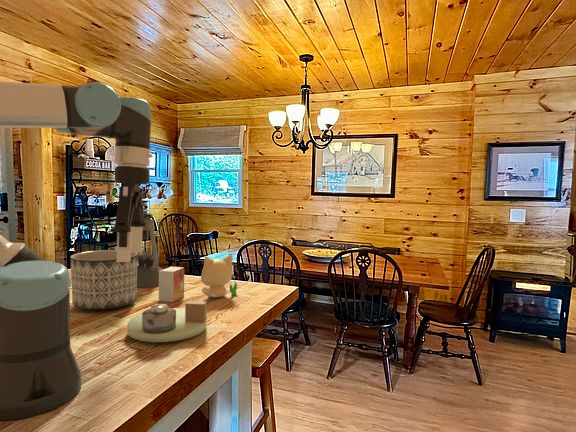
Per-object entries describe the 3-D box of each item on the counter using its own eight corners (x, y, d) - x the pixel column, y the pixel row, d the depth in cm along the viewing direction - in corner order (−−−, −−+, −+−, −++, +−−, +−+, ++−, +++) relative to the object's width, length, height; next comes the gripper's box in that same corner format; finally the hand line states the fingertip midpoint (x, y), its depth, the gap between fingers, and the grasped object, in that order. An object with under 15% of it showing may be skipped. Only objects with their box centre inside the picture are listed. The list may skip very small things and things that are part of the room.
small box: (173, 302, 124) (173, 271, 123) (158, 301, 125) (158, 270, 124) (184, 296, 132) (184, 267, 131) (170, 295, 133) (170, 266, 132)
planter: (77, 299, 125) (76, 250, 124) (138, 295, 132) (138, 249, 131) (65, 317, 107) (64, 261, 106) (136, 311, 114) (136, 258, 113)
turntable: (193, 344, 88) (193, 315, 88) (112, 340, 89) (111, 311, 89) (214, 316, 108) (215, 292, 108) (147, 313, 109) (148, 290, 109)
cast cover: (168, 334, 88) (169, 312, 88) (136, 333, 89) (136, 310, 89) (180, 323, 96) (180, 302, 96) (150, 321, 97) (150, 301, 96)
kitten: (230, 290, 141) (231, 251, 140) (243, 297, 132) (243, 255, 132) (192, 296, 132) (193, 254, 131) (203, 303, 124) (203, 258, 123)
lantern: (105, 286, 142) (104, 208, 141) (144, 276, 161) (144, 207, 159) (141, 292, 135) (141, 210, 134) (177, 280, 154) (177, 208, 152)
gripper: (139, 163, 75) (136, 266, 76) (157, 171, 100) (154, 249, 101) (99, 160, 74) (97, 266, 75) (127, 169, 98) (125, 248, 99)
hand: (130, 256), depth 88 cm, fingers open, 13 cm apart
